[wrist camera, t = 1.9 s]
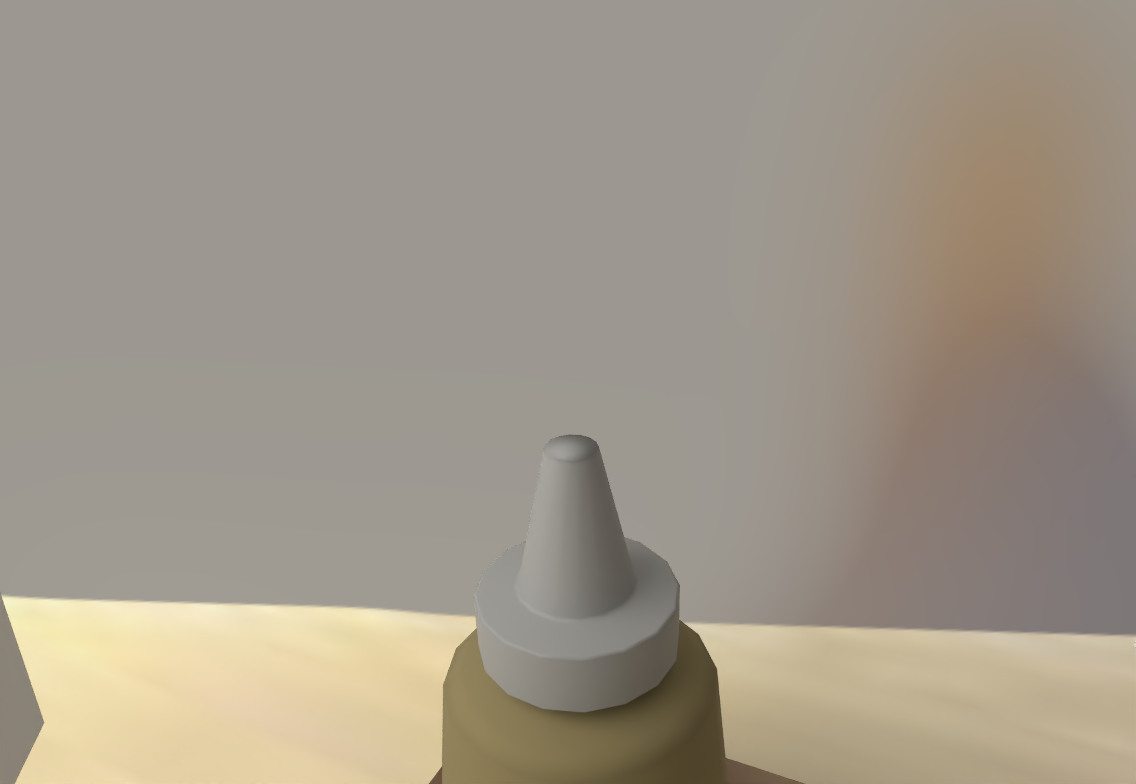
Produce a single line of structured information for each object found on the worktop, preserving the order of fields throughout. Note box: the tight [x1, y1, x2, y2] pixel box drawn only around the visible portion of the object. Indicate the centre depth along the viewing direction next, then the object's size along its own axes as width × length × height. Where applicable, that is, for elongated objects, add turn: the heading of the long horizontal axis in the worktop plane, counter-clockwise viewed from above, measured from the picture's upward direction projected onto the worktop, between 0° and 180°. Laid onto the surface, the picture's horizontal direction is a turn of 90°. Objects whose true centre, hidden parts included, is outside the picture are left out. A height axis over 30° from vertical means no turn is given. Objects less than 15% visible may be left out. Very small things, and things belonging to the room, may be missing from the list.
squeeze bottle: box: [442, 435, 728, 784], centre depth 27 cm, size 8×8×18 cm
